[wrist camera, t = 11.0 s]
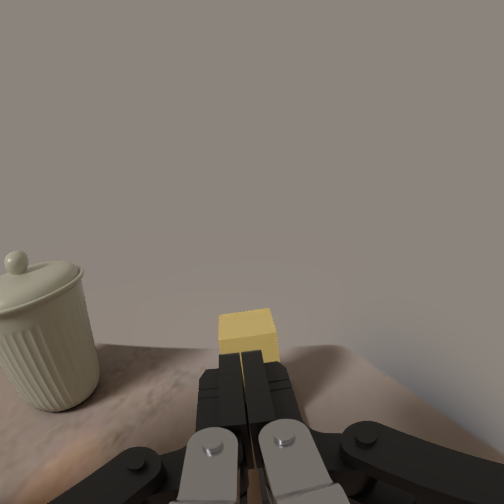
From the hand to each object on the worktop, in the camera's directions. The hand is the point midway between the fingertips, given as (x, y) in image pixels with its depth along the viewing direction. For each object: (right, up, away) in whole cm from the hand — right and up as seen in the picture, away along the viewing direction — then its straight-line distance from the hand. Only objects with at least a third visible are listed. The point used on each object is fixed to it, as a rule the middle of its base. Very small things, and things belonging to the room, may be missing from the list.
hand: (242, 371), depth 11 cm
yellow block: (+1, -12, +20) cm, 24 cm away
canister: (-27, -16, +26) cm, 40 cm away
